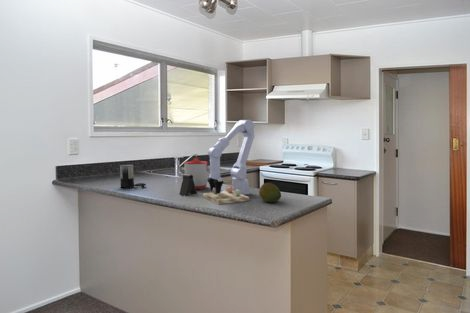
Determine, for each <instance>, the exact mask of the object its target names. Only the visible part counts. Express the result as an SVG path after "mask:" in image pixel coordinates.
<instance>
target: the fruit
mask: <svg viewBox="0 0 470 313" xmlns="http://www.w3.org/2000/svg"><path fill="white" fill-rule="evenodd" d="M258 194H259V197H260V199H261V200H263V201H265V202H267V203H276V202H278V201H279V200H281V197H282V193H281V191H280V188H279V187H278V186H277V185H276V184H274V183H272V182H265V183H263V184H261V186H260V188H259V190H258Z"/></svg>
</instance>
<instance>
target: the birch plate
mask: <svg viewBox="0 0 470 313" xmlns="http://www.w3.org/2000/svg"><path fill="white" fill-rule="evenodd" d="M202 197H203V198H205V199H207V200H209V201H211V202H213V203H215V204H217V205H225V204H232V203H240V202H249V201H250V197H249V196H247V195H242V194H241V195H240V196H237V195H236V194H235V192H233V191H232V192H228V191H227V190H224V191H222V190H221V191H220V193H216V194H215V193H213V191H211V192H205V193H202Z"/></svg>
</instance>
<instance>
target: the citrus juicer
mask: <svg viewBox="0 0 470 313" xmlns="http://www.w3.org/2000/svg"><path fill="white" fill-rule="evenodd" d="M183 164H184V174H191V175H193V181H194V184H195V187H196V190H203V189H206V188H207V185H208V183H209V182H208V180H207V179H209V178H208V177H209V171H210V166H209V162H208V161H205V160H204V161H203V160H200V159H199V158H198V157H195V158H194V159H193V160H191V161H184V163H183Z"/></svg>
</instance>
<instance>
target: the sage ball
mask: <svg viewBox="0 0 470 313" xmlns="http://www.w3.org/2000/svg"><path fill="white" fill-rule="evenodd" d="M235 194H236V195H237V196H240V195H241V190H239V189H238V190H236V191H235Z"/></svg>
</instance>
